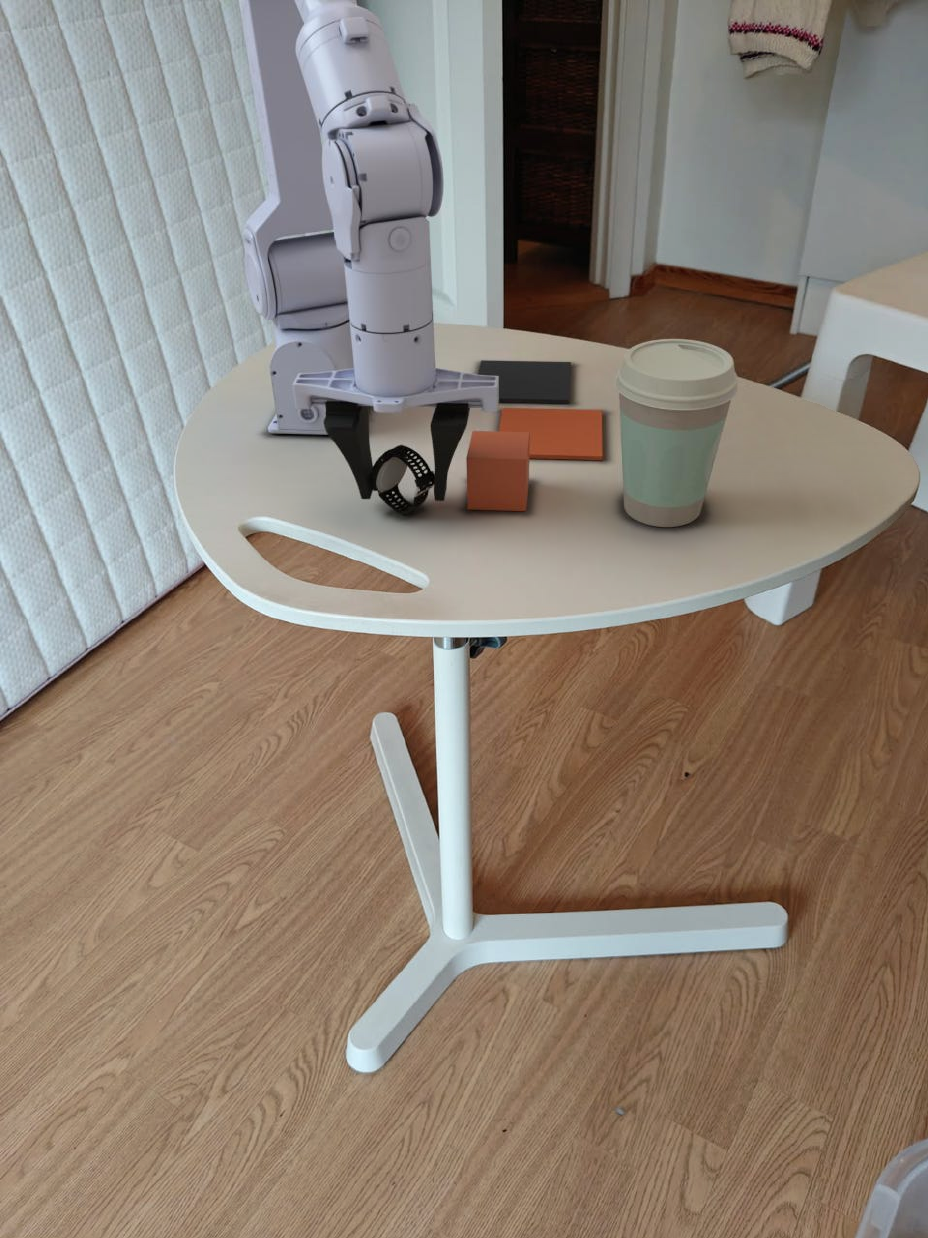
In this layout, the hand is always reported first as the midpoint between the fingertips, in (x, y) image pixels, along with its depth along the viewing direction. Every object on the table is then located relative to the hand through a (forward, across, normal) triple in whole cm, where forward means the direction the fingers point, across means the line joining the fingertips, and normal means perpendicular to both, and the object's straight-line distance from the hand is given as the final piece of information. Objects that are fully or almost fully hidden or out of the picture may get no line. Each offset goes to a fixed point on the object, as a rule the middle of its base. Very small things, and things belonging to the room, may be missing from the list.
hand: (403, 493), depth 75 cm
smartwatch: (+2, 0, 0) cm, 2 cm away
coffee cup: (+2, +20, +2) cm, 20 cm away
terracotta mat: (+2, +11, +14) cm, 18 cm away
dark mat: (+2, +8, +25) cm, 26 cm away
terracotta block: (+2, +7, +3) cm, 8 cm away
